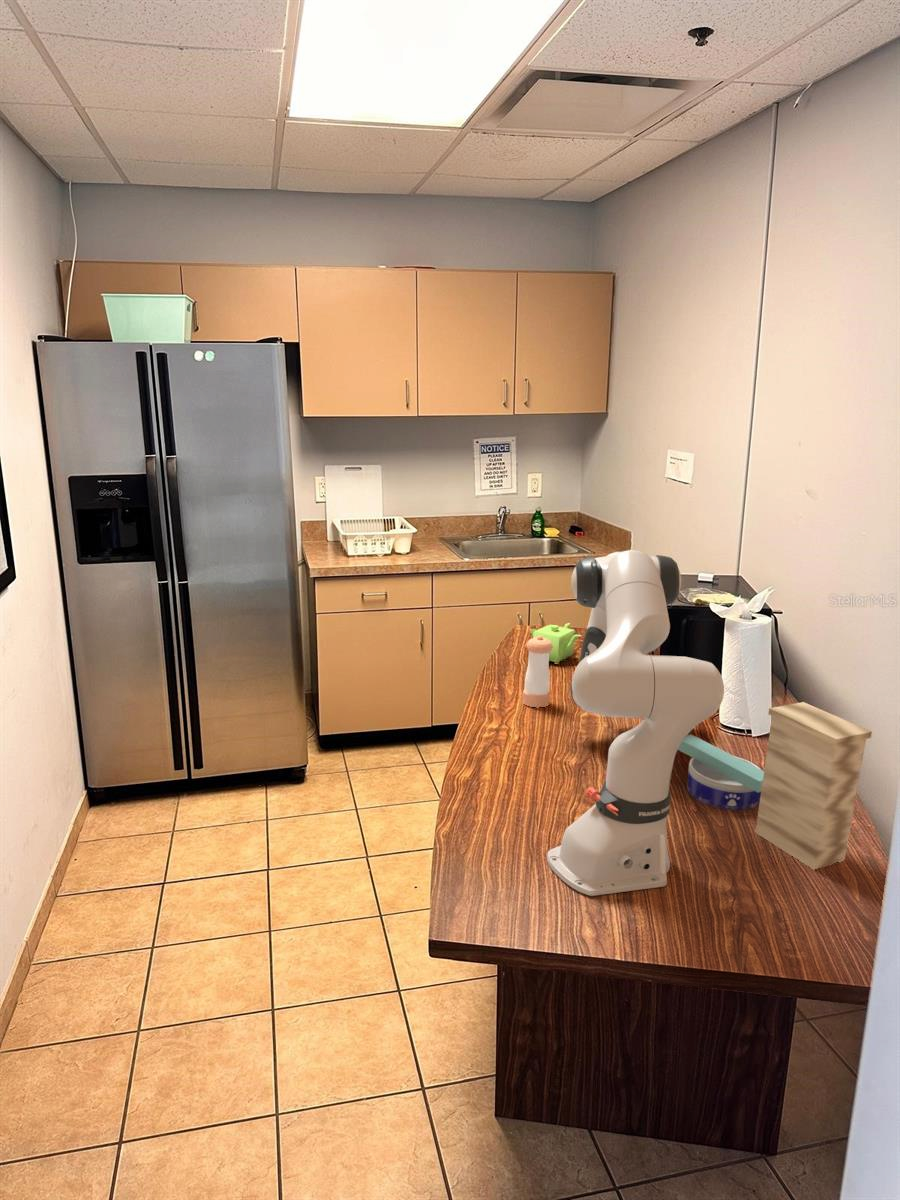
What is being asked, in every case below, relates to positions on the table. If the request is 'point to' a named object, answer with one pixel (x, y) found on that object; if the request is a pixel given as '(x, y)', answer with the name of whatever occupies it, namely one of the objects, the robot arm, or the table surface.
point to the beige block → (810, 783)
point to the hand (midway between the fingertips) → (692, 680)
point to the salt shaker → (537, 673)
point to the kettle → (558, 640)
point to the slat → (723, 762)
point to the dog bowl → (719, 788)
